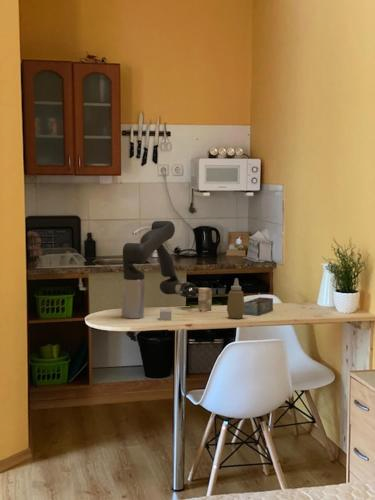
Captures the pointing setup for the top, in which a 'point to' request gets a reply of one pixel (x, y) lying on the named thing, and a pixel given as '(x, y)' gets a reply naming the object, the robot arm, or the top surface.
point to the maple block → (205, 299)
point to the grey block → (165, 314)
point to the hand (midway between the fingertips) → (203, 293)
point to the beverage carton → (258, 306)
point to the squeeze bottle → (235, 301)
